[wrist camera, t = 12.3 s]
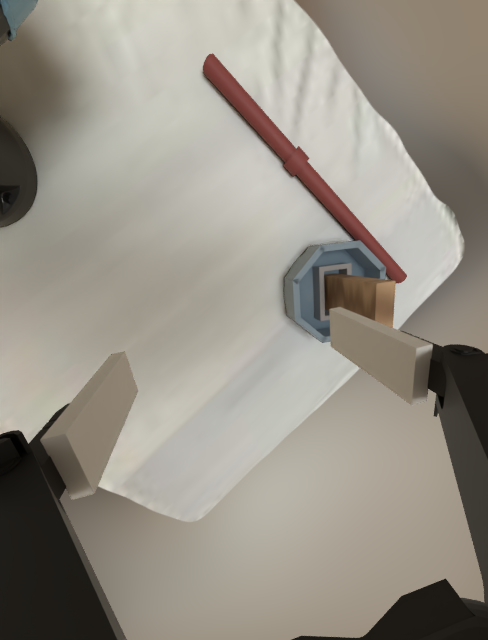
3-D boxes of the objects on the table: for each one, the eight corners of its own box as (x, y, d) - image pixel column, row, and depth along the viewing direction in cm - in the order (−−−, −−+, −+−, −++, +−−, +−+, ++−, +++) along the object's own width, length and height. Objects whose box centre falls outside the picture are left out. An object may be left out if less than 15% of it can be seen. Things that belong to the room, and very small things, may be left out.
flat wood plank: (320, 275, 41) (376, 283, 28) (334, 273, 42) (395, 280, 28) (321, 308, 43) (374, 331, 30) (334, 306, 43) (392, 328, 30)
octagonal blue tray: (280, 249, 40) (290, 248, 35) (367, 239, 42) (387, 236, 37) (286, 338, 44) (296, 347, 40) (364, 324, 46) (383, 332, 42)
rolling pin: (199, 81, 33) (199, 63, 30) (214, 61, 32) (214, 41, 29) (388, 284, 46) (401, 286, 43) (400, 272, 45) (414, 273, 42)
